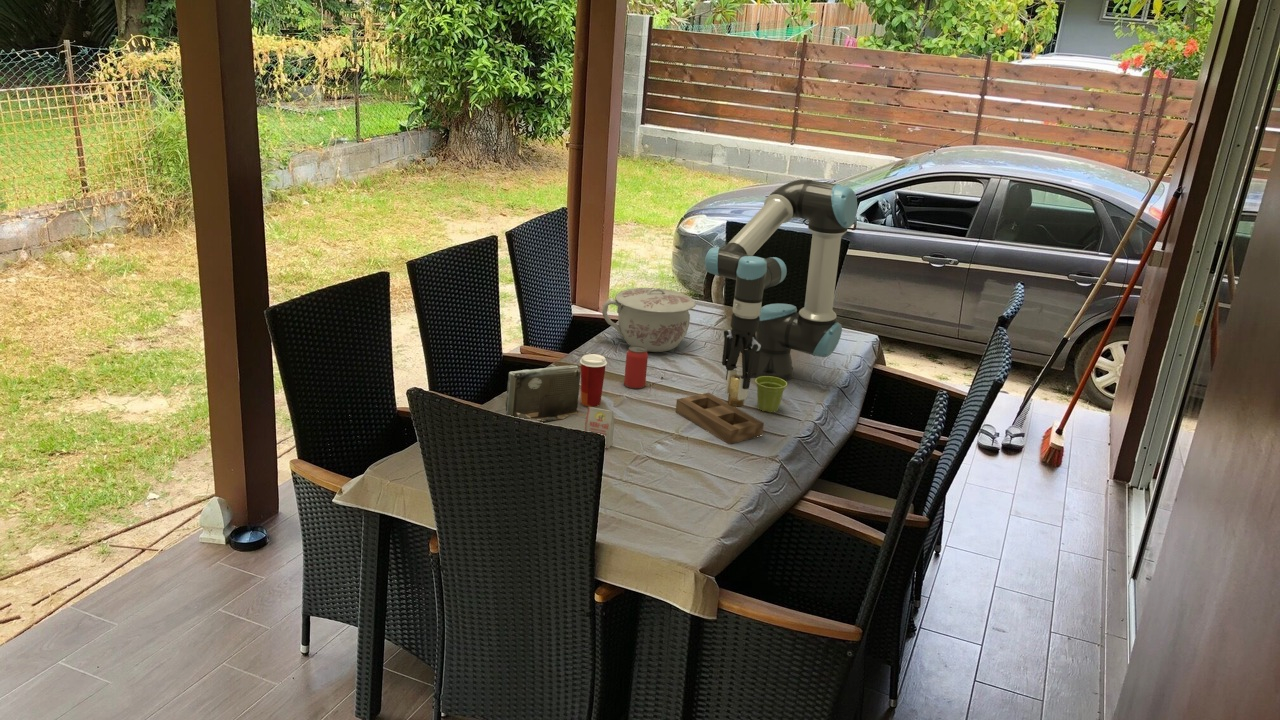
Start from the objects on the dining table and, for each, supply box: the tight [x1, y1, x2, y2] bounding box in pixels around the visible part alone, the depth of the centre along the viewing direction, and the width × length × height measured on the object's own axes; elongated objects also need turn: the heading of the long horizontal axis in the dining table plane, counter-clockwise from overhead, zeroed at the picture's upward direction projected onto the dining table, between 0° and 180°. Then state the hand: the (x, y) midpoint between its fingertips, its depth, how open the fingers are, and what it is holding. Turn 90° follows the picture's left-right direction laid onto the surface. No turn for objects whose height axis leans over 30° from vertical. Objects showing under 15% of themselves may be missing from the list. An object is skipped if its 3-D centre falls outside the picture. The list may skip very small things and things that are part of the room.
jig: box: [675, 392, 765, 445], centre depth 274 cm, size 12×24×4 cm, turn 36°
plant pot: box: [754, 376, 788, 413], centre depth 287 cm, size 9×9×9 cm
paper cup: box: [579, 353, 608, 408], centre depth 280 cm, size 8×8×14 cm
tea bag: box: [584, 406, 615, 450], centre depth 255 cm, size 4×7×10 cm, turn 74°
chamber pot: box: [601, 287, 697, 353], centre depth 330 cm, size 28×28×21 cm
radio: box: [505, 364, 581, 423], centre depth 268 cm, size 23×9×15 cm, turn 120°
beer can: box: [623, 345, 649, 390], centre depth 296 cm, size 7×7×12 cm
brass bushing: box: [727, 374, 745, 408], centre depth 266 cm, size 4×4×8 cm
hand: (735, 395), depth 267 cm, fingers closed on brass bushing, 4 cm apart
